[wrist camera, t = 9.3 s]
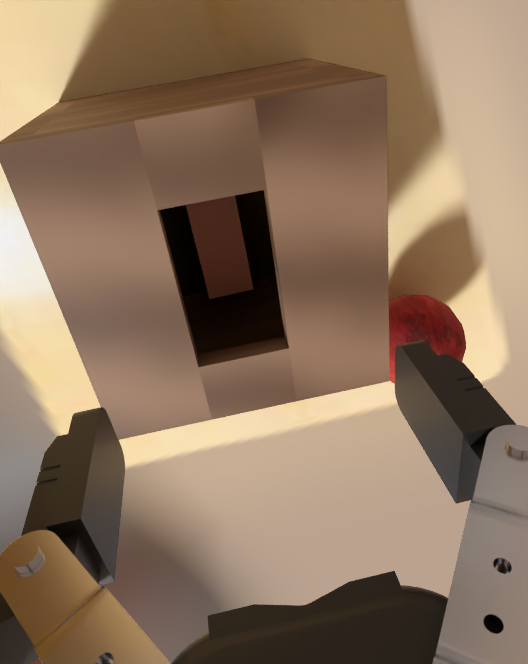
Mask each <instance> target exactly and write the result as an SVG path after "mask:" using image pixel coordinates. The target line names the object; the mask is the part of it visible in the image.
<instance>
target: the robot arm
mask: <svg viewBox="0 0 528 664" xmlns="http://www.w3.org/2000/svg"><path fill="white" fill-rule="evenodd" d="M395 394H396V399H397V402H398V405H399V408H400V410H401V411H402V413H403V415H404V417H405V419H406V420H407V422H408V424H409V425H410V427H411V429H412V430H413V432H414V434H415V435H416V437H417V439H418V440H419V442H420V444H421V445H422V447H423V449H424V450H425V452H426V454H427V456H428V457H429V459H430V461H431V462H432V464H433V465H434V467H435V469H436V471H437V472H438V474H439V475H440V477H441V479H442V481H443V482H444V484H445V486H446V487H447V489H448V491H449V492H450V494H451V496H452V497H453V499H454V501H455V502H456V503H460V502H464V501H468V500H471V502H470V507H469V511H468V515H467V519H466V523H465V528H464V532H463V536H462V541H461V545H460V549H459V554H458V559H457V563H456V567H455V571H454V576H453V580H452V585H451V589H450V593H449V598H447V597H445V596H443V595H440V594H438V593H435V592H433V591H430V590H426V589H422V588H418V587H411V586H401V585H400V583H399V581H398V578H397V576H396V573H395V571H392V572H388V573H384V574H380V575H376V576H371V577H367V578H363V579H359V580H355V581H351V582H348V583H346V584H344V585H343V586H341V587H339V588H337V589H335V590H334V591H332V592H330V593H328V594H326V595H325V596H322V597H321V598H319V599H317V600H315V601H313V602H312V603H309V604H307V605H304V606H292V605H291V606H290V605H250V606H247V607H242V608H238V609H234V610H230V611H225V612H221V613H217V614H213V615H209V616H208V627H209V632H207V633H205V634H204V635H202V636H201V637H199V638H198V639H196V640H195V641H194V642H192V643H191V644H190V645H188V646H187V647H186V648H185V649H184V650H183V651H182V652H181V653H180V654H179V655H178V656H177V657H176V658H175V659H174V660H173V662H172V663H171V664H528V427H525V426H520V425H516V424H515V422H514V421H513V420H512V419H511V418H510V417H509V415H508V414H507V413H506V412H505V411H504V410H503V408H502V407H501V406H500V405H499V404H498V403H497V401H496V400H495V399H494V398H493V397H492V396H491V394H490V393H489V392H488V391H487V390H486V389H485V388H483V385H482V384H481V383H480V382H479V381H478V379H477V378H475V377H474V375H473V374H472V372H471V371H470V370H469V369H468V368H467V367H466V365H465V364H464V363H462V362H461V361H459V360H457V359H455V358H453V357H452V356H450V355H448V354H444V355H439V356H437V354H436V353H435V352H434V351H433V349H432V348H431V347H430V346H429V344H428V343H427V342H426V341H424V340H421V341H417V342H412V343H407V344H402V345H398V346H396V349H395ZM40 470H41V472H39V476H38V479H37V486H35V489H34V493H33V496H32V500H31V503H30V507H29V510H28V514H27V517H26V521H25V525H24V528H23V531H22V535H21V537H19V538H18V539H16V540H14V541H13V542H12V543H11V544H10V545H8V547H6V549H4V551H3V552H2V553H1V555H0V664H29V663H30V662H32V661H34V660H35V659H37V658H40V660H41V661H42V663H43V664H170V662H169V661H168V660H167V659H166V658H165V656H164V655H163V654H162V653H161V652H160V651H159V649H158V648H157V647H156V646H155V645H154V644H153V642H152V641H151V640H150V639H149V638H148V637H147V635H146V634H145V633H144V632H143V631H142V629H141V628H140V627H139V626H138V625H137V624H136V622H135V621H134V620H133V619H132V618H131V617H130V615H129V614H128V613H127V612H126V611H125V609H124V608H123V607H122V606H121V605H120V604H119V603H118V601H117V600H116V599H115V598H114V597H113V595H112V594H111V593H110V592H109V591H108V590H107V589H106V588H105V587H104V586H103V587H102V588H101V587H100V586H99V585H102V584H106V583H111V582H114V579H115V568H116V558H117V548H118V537H119V526H120V517H121V506H122V496H123V484H124V475H125V461H124V455H123V451H122V448H121V445H120V443H119V440H118V438H117V435H116V433H115V431H114V428H113V426H112V423H111V421H110V418H109V416H108V414H107V411H106V410H105V409H104V408H103V407H101V408H97V409H92V410H87V411H82V412H78V413H74V415H73V417H72V421H71V425H70V429H69V433H68V434H67V435H62V436H57V437H56V439H55V440H54V441H53V443H52V444H51V445H50V447H49V448H48V449H47V451H46V452H45V454H44V458H43V461H42V465H41V468H40Z"/></svg>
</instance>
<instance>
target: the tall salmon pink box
mask: <svg viewBox="0 0 528 664" xmlns="http://www.w3.org/2000/svg"><path fill="white" fill-rule="evenodd" d="M186 208H187V212H188V216H189V220H190V224H191V228H192V232H193V236H194V240H195V244H196V248H197V252H198V255H199V259H200V263H201V267H202V271H203V275H204V279H205V283H206V287H207V291H208V295H209V299H212V298H217V297H221V296H226V295H230V294H235V293H239V292H244V291H248V290H253V284H252V279H251V274H250V269H249V264H248V259H247V254H246V249H245V244H244V239H243V234H242V229H241V224H240V219H239V214H238V209H237V203H236V198H235V196H230V197H224V198H219V199H214V200H208V201H203V202H198V203H193V204H187V205H186Z"/></svg>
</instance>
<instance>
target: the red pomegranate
mask: <svg viewBox="0 0 528 664" xmlns="http://www.w3.org/2000/svg"><path fill="white" fill-rule="evenodd" d="M421 340H424V341H426V342H427V343H428V344H429V346H430V347H431V348H432V349H433V351H434V352H435V353H436V354H437V356H439V355H444V354H448V355H450V356H452V357H453V358H455V359H457V360H459V361H461V362H462V360H463V357H464V353H465V350H466V341H465V335H464V330H463V327H462V324H461V323H460V321H459V320H458V318H457V317H456V316H455V314H454V313H453V312H452V310H451V309H450V307H449V306H447V305H445V304H444V303H442V302H440V301H438V300H436V299H434V298H432V297H430V296H423V295H404V296H402V297H399V298H396V299H394V300H391V301H390V302H389V378H390V381H391V382H393V383H395V349H396V346H398V345H402V344H407V343H412V342H417V341H421Z"/></svg>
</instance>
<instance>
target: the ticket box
mask: <svg viewBox="0 0 528 664" xmlns="http://www.w3.org/2000/svg"><path fill="white" fill-rule="evenodd" d="M0 163H1V165H2V168H3V170H4V173H5V175H6V177H7V180H8V182H9V185H10V187H11V190H12V192H13V194H14V197H15V199H16V202H17V204H18V207H19V209H20V211H21V214H22V216H23V219H24V221H25V224H26V226H27V228H28V231H29V233H30V236H31V238H32V241H33V243H34V245H35V248H36V250H37V253H38V255H39V258H40V260H41V262H42V265H43V267H44V270H45V272H46V275H47V277H48V279H49V282H50V284H51V287H52V289H53V292H54V294H55V296H56V299H57V301H58V304H59V306H60V308H61V311H62V313H63V316H64V318H65V321H66V323H67V325H68V328H69V330H70V333H71V335H72V338H73V340H74V342H75V345H76V347H77V350H78V352H79V355H80V357H81V359H82V362H83V364H84V367H85V369H86V372H87V374H88V376H89V379H90V381H91V384H92V386H93V389H94V391H95V393H96V396H97V398H98V401H99V403H100V406H101V407H103V408H104V409H105V410H106V411H107V414H108V416H109V418H110V421H111V423H112V426H113V428H114V431H115V433H116V435H117V438H118V440H119V439H124V438H129V437H133V436H138V435H142V434H147V433H152V432H156V431H161V430H165V429H170V428H175V427H179V426H184V425H189V424H193V423H198V422H202V421H207V420H212V419H216V418H221V417H226V416H230V415H235V414H239V413H244V412H249V411H253V410H258V409H262V408H267V407H272V406H276V405H281V404H286V403H290V402H295V401H299V400H304V399H309V398H313V397H318V396H322V395H327V394H332V393H336V392H341V391H346V390H350V389H355V388H359V387H364V386H369V385H373V384H378V383H383V382H387V381H390V378H389V286H388V194H387V103H386V76H384V75H380V74H375V73H371V72H366V71H362V70H357V69H353V68H348V67H344V66H339V65H335V64H330V63H326V62H321V61H317V60H312V59H305V60H300V61H294V62H288V63H282V64H277V65H271V66H265V67H260V68H254V69H248V70H242V71H237V72H231V73H225V74H219V75H214V76H208V77H202V78H197V79H191V80H185V81H179V82H174V83H168V84H162V85H157V86H151V87H145V88H139V89H134V90H128V91H122V92H117V93H111V94H105V95H99V96H94V97H88V98H82V99H76V100H71V101H65V102H59V103H57V104H55V105H54V106H53V107H51V108H50V109H48V110H47V111H45V112H44V113H42V114H41V115H39V116H38V117H36V118H35V119H33V120H32V121H30V122H29V123H27V124H26V125H24V126H23V127H21V128H20V129H18V130H17V131H15V132H14V133H12V134H11V135H9V136H8V137H6V138H5V139H3V140H2V141H0ZM261 190H264V195H265V202H266V209H267V216H268V223H269V230H270V237H271V244H272V251H273V258H274V265H275V272H276V278H273V279H268V280H263V281H258V282H254V283H252V284H253V290H248V291H244V292H239V293H235V294H230V295H226V296H221V297H217V298H212V299H209V295H208V292H204V293H199V294H194V295H189V296H184V297H182V294H181V290H180V286H179V282H178V278H177V274H176V271H175V267H174V263H173V259H172V255H171V251H170V247H169V244H168V240H167V236H166V232H165V228H164V224H163V220H162V217H161V213H160V210H161V209H166V208H172V207H177V206H182V205H187V204H193V203H198V202H203V201H208V200H214V199H219V198H224V197H230V196H235V195H240V194H245V193H251V192H256V191H261Z"/></svg>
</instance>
